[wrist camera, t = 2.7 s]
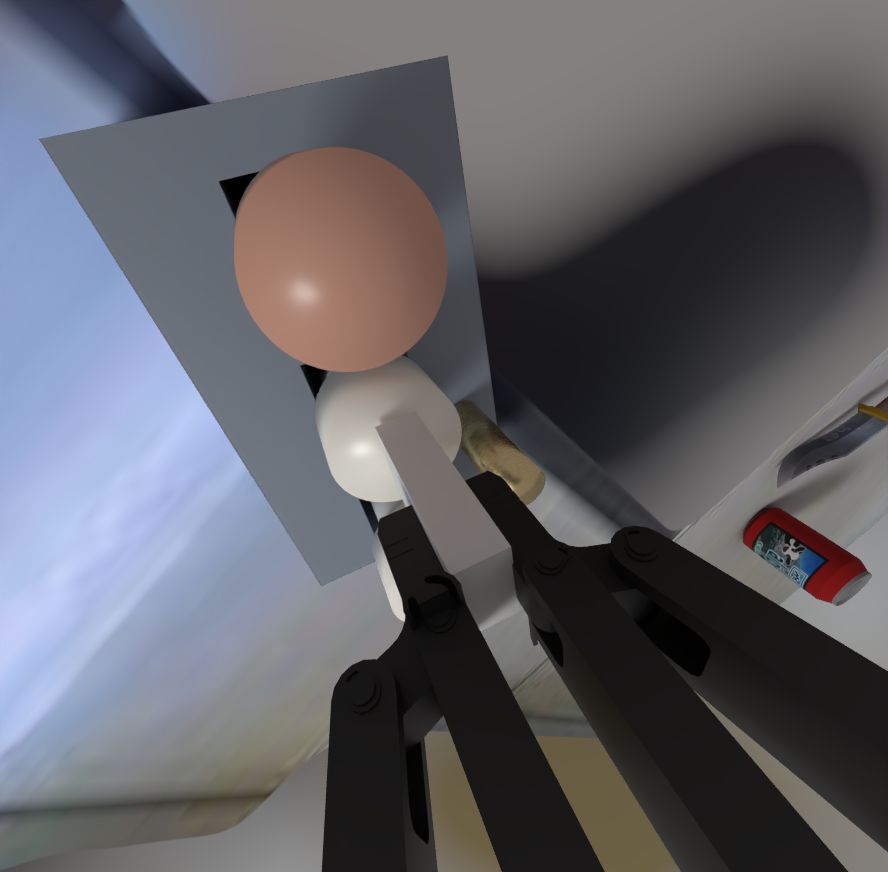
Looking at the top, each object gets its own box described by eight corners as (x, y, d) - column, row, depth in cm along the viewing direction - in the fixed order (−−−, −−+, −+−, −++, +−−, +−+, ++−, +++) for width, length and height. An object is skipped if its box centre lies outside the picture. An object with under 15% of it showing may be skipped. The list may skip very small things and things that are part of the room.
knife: (757, 480, 52) (799, 505, 49) (757, 473, 52) (800, 499, 48) (916, 359, 52) (970, 375, 49) (919, 351, 51) (974, 367, 48)
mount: (307, 516, 28) (321, 586, 24) (95, 145, 16) (38, 139, 11) (466, 449, 31) (507, 500, 26) (393, 81, 18) (447, 55, 14)
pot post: (447, 440, 22) (504, 515, 17) (440, 409, 21) (499, 480, 16) (481, 426, 22) (546, 496, 18) (476, 394, 21) (544, 460, 17)
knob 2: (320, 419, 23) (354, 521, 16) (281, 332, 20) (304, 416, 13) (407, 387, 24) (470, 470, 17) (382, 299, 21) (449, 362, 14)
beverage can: (740, 520, 57) (839, 591, 48) (779, 495, 58) (884, 560, 48) (734, 548, 61) (824, 618, 52) (771, 524, 62) (866, 589, 53)
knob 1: (269, 311, 17) (290, 398, 11) (206, 171, 14) (184, 179, 8) (383, 275, 18) (461, 336, 12) (346, 137, 15) (424, 122, 9)
